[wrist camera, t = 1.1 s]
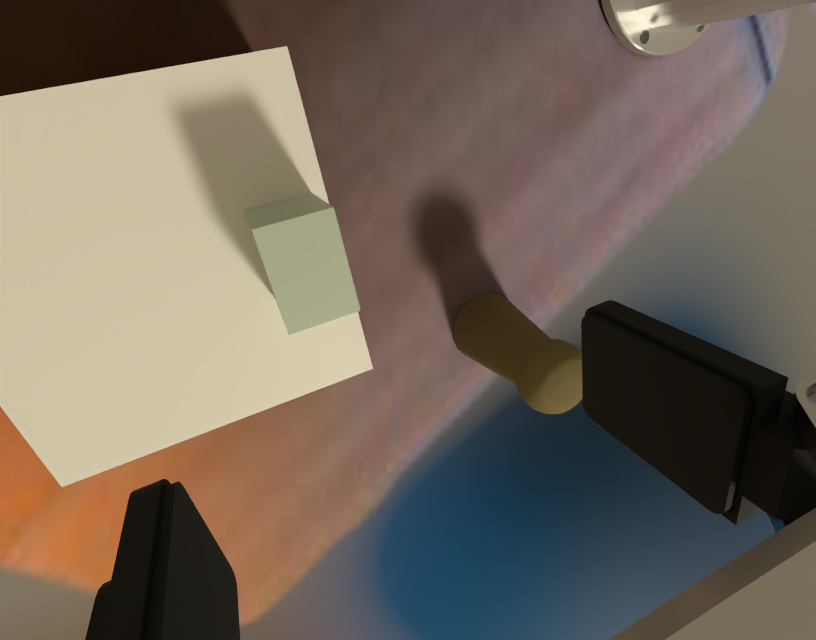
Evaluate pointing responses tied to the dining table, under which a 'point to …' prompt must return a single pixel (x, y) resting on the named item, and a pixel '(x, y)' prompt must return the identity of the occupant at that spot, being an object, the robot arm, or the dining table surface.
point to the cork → (520, 353)
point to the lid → (165, 260)
